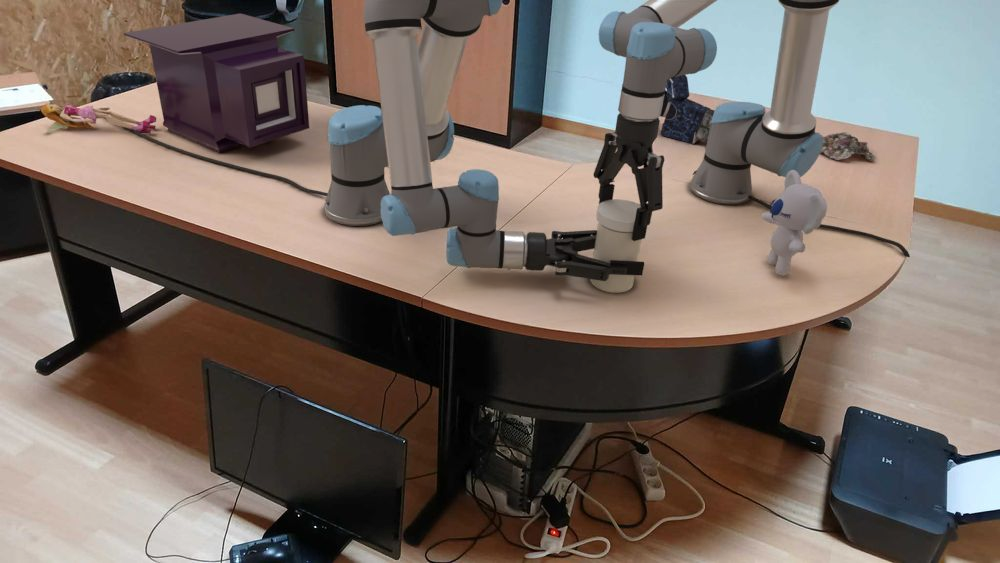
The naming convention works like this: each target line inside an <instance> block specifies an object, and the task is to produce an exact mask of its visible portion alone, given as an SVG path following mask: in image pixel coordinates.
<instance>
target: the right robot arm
mask: <svg viewBox="0 0 1000 563" xmlns="http://www.w3.org/2000/svg"><path fill="white" fill-rule="evenodd" d="M717 1H718V0H647V1H645V2H643V3H642V4H641V5H639V6H638V7H637V8H635V9H634V10H631V11H630V12H628V13H627V12H625V11H617V10H615V11H611V12H609V13H608V14H606V16H605V17H604V18H603V19H602V21H601V23H600V26H599V28H598V40H599V45H600V46H601V48H602V49H603V50H605V51H607V52H609V53H612V54H614V55H616V56H618V57H623V58H625V65H624V72H623V80H622V84H621V91H620V96H619V102H618V108H617V111H618V114H617V117H616V122H615V130H614V131H613V132H607V133H605V134H604V141H603V146H602V149H601V151H600V155H599V158H598V160H597V163H596V166H595V167H594V171H593V178H594V179H597V180H598V184H599V190H598V199H599V200H598V205H599V204H600V203H601V202H603V201H606V200H613V199H614V193H615V186H616V185H615V184H614V183H615V182H616V181H615V178H616V177H617V175H618V174H619V173H620V171H621V170H622V168H623V167H624V166H625V165H627V166H628V167H629V168H630V170H631V173H632V174H633V175H634V178H635V184H636V189H637V195H638V200H639V204H640V206H641V207H640V208H637V211H636V217H635V223H634V228H633V234H632V240H633V241H637V240H640V239H641V240H644V239H646V235H647V230H648V226H650V224H651V221H652V215H653V212H656V211H660V210H663V206H664V203H663V202H664V200H663V199H664V198H663V195H664V194H663V167H664V163H665V156H664V154H663V155H658V154H656V153H654V148H653V143H655V141H656V139H657V138H658V134H659V129H660V123H661V120H660V117H661V111H662V106H663V100H664V95H665V90H667V89H666V84H667V80H668V78H673V77H677V76H682V75H686V76H687V75H694V74H697V73H698V72H701V71H704V70H706V69H708V68H710V66H712V64H713V63H714V62H715V59H716V57H717V53H718V52H717V51H718V45H717V41H716V39H715V36H714V35H713V34H712V33H711V32H710V31H709V30H708V29H705V28H696V27H691V28H689V29H685V28H680V27H681V26H683V25H684V24H685V23H687V22H688V21H690V20H691V19H693V18H694V17H695V16H698V14H700V13H701V12H703V11H704V10H705V9H707V8H709V7H710V6H711V5H713V4H714V3H716V2H717ZM777 1H778V4H780V5H781V7H783V9H784V12H783V19H782V25H781V33H780V39H779V46H778V54H777V60H776V68H775V75H774V80H773V90H772V96H771V102H770V109H769V111H766V107H765V106H764V105H762V104H760V103H755V102H748V101H728V102H724V103H721V104H719V105H718V106H716V107H715V109H714V114H713V118H712V120H711V126H710V131H709V136H708V140H707V142H706V145H705V150H704V154H703V159H702V161H701V163H700V165H699V166H698V168H697V169H696V170H694V172H693V173H692V179H691V181H690V184H689V189H690V191H691V193H693V194H694V196H696V197H698V198H700V199H702V200H704V201H707V202H710V203H713V204H717V205H726V206H727V205H729V206H734V205H742V204H745V203H747V202H749V201H753V202H755V203H757V204H759V205H761V206H764V207H766V208H767V209H769V210H771V207H772V205H771V204H770V203H767V202H766V201H763V200H761V199H759V198H757V197H755V196H753V195H752V191H753V186H752V174H751V167H752V166H754V167H757V168H760V169H762V170H765V171H767V172H769V173H772V174H776V175H777V176H778V177H783V178H786V175H787V173H788V172H789V171H791V170H795V171H797V172H798V174H799V175H800V178H802V177H803V176H805V174H807V173H808V172H809V171H810V170H811V168H812V167H813V166H814V164H815V163H816V161H817V160H818V158H819V156H820V154H821V153H822V152H821V150H822V147H823V143H824V138H823V137H824V136H823V135H822V134H821V133H820V132H817V131H816V127H817V119H816V117H815V116H814V115H813V114H812V109H813V102H814V98H815V93H816V87H817V81H818V75H819V70H820V64H821V58H822V53H823V48H824V43H825V37H826V32H827V25H828V20H829V14H830V10H831V9H832V8H834V7H835V6H836V5H838V4H839V3H840V0H777ZM642 166H643V167H642ZM640 167H642V168H640ZM818 228H820V229H827V230H832V231H837V232H841V233H847V234H852V235H856V236H861V237H866V238H870V239H872V240H876V241H879V242H882V243H884V244H889V245H892V246H895V247H897V249H899V250H900V251H901V252H902V253H903V255H904V257H907V258H910V257H911V256H910V253H909V251H908V250H907V249H906V248H905V246H904V245H903V244H901V243H899V242H897V241H895V240H892V239H889V238H884V237H882V236H878V235H875V234H872V233H870V232H869V233H868V232H865V231H861V230H855V229H850V228H844V227H839V226H834V225H828V224H822V223H821V224H820V226H819V227H818Z"/></svg>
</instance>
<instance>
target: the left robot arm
mask: <svg viewBox="0 0 1000 563" xmlns="http://www.w3.org/2000/svg"><path fill="white" fill-rule="evenodd" d="M502 4H503V0H364V6H363V23H364V29H365V30H364V31H365V35H366V36H367V37H368V38H369V39H371V41H372V47H373V53H374V63H375V69H376V79H377V85H378V93H379V101H380V102H379V103H380V107H379V106H375V105H370V104H369V105H365V104H359V105H352V106H348V107H345V108H342V109H339V110H337V111H336V112H335V113H334V114H333V115H332V116H331V117H330V118H329V121H328V130H327V134H328V135H327V141H328V146H329V147H328V148H329V164H330V176H331V181H330V185H329V187H328V190H327V191H328V192H325V191H320V190H315V189H311V188H307V187H304V186H302V185H300V184H299V183H297V182H295V181H293V180H291V179H289V178H287V177H283V176H280V175H277V174H272V173H268V172H264V171H260V170H255V169H252V168H248V167H244V166H240V165H236V164H232V163H228V162H225V161H222V160H218V159H215V158H211V157H207V156H203V155H200V154H198V153H197V154H196V153H193V152H190V151H187V150H184V149H182V148H179V147H176V146H173V145H170V144H168V143H165V142H163V141H160V140H158V139H155V138H153V137H150V136H148V135H147V134H145V133H140V132H138V131H136V130H134V129H130V128H126V127H122V126H120V127H122V128H124V129H126V130H128V131H129V132H131V133H134V134H135V135H137V136H140V137H141V138H144V139H146V140H148V141H151V142H153V143H155V144H157V145H160V146H163V147H165V148H168V149H170V150H173V151H176V152H178V153H181V154H184V155H187V156H190V157H194V158H197V159H200V160H203V161H207V162H211V163H214V164H218V165H221V166H225V167H229V168H233V169H236V170H240V171H244V172H247V173H250V174H251V173H252V174H256V175H260V176H263V177H267V178H272V179H277V180H280V181H282V182H285V183H288V184H290V185H292V186H294V187H295V188H297V189H299V190H301V191H303V192H305V193H310V194H315V195H320V196H324V197H326V198H325V203H324V212H325V215H326V217H327V218H328V219H329V220H330V221H332V222H334V223H337V224H339V225H343V226H349V227H350V226H351V227H367V226H372V225H377V224H380V223H382V225H383V228H384V230H385V231H386V232H387V234H389V235H391V236H393V237H394V236H404V235H413V236H414V235H416V234H420V233H427V232H431V231H436V230H442V229H448V228H449V229H448V230H447V232H446V234H447V235H446V250H445V252H446V253H445V256H446V257H445V259H446V263H447V265H449V266H451V267H460V268H467V269H473V268H477V269H501V270H502V269H505V270H508V271H511V270H519V271H521V270H523V268H525V270H527V271H535V272H537V271H538V272H541V271H544V270H545V269H546V266H550V267H552V268H553V267H554V269H555V271H554V274H555V275H556V276H560V277H561V276H564V277H565V276H570V277H574V278H575V277H576V278H581V279H587V280H590V279H593V280H600V281H607V279H608V278H609V275H610V274H614V275H635V276H637V277H638V276H639V277H642V276H643V274H644V269H645V261H619V260H610V263H608V262H604V261H601V260H597V259H594V258H593V257H589V256H587V255H583V254H580V253H579V252H585V251H589V250H594V247H595V241H596V234H597V229H591V230H574V231H573V230H572V231H571V230H570V231H558V230H552V231H551V236H550V238H547V235H546V233H545V232H537V231H535V232H534V231H529V232H527V233H526V234H525V231H521V230H520V231H519V230H516V231H515V230H497V218H498V207H499V201H500V195H499V194H500V193H499V192H500V185H499V179H498V177H497V176H496V175H495V173H492V172H491V171H488V170H486V169H479V168H475V169H474V168H473V169H468V170H466V171H463V172H461V173H460V175H459V177H458V181H457V185H451V186H443V187H436V188H434V186H433V175H432V174H433V173H432V165H431V163H433V162H435V161H440V160H443V159H445V158H446V157H448V155H449V154H450V152H451V151H452V149H453V145H454V141H455V137H454V135H455V125H454V120H453V116H452V115H451V113H450V112H449V110H448V108H447V105H448V102H449V99H450V96H451V93H452V89H453V87H454V83H455V81H456V77H457V73H458V70H459V67H460V65H461V61H462V58H463V56H464V52H465V48H466V46H467V42H468V39H469V37H472V36H473V35H475V34H476V33H477V32H478V31H479V30H480V27H481V25H482V22H483V18H484V17H485V16H487V17H492V16H493V15H497V14H499V12H500V10H501V8H502ZM422 21H423V27H422ZM420 33H421V35H420ZM419 35H420V39H419V42H418V36H419ZM385 168H388V173H389V183H390V190H391V193H390V191H389V188H388V185H387V182H386V179H385V177H386V176H385Z"/></svg>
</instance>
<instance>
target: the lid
mask: <svg viewBox="0 0 1000 563" xmlns="http://www.w3.org/2000/svg"><path fill="white" fill-rule="evenodd" d="M640 207H641V206H640V203H638V202H635V201H632V200H628V199H620V198H619V199H616V198H615V199H614V198H613V200H606V201H603V202H601V203H600V204H599V203H598V205H597V206H596V215H595V219H596V221H597V223H598V222H599V223H600V224H601V225H603V226H605V227H607V228H609V229H612V230H616V231H622V232H633V228H634V223H635V217H636V211H637V208H640Z"/></svg>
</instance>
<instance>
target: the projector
mask: <svg viewBox="0 0 1000 563" xmlns="http://www.w3.org/2000/svg"><path fill="white" fill-rule="evenodd" d="M294 31H295V28H294V27H292V26H287V25H283V24H279V23H276V22H272V21H269V20H264V19H262V18H259V17H256V16H255V17H254V16H252V15H247V14H244V13H235V14H230V15H224V16H217V17H212V18H205V19H200V20H194V21H188V22H181V23H175V24H169V25H163V26H157V27H151V28H146V29H145V28H144V29H139V30H134V31H128V32H123V36H125V37H127V38H130V39H133V40H136V41H138V42H142V43H145V44H148V45H149V50H150V54H151V60H152V66H153V71H154V75H155V76H154V77H155V82H156V87H157V92H158V97H159V102H160V107H161V113H162V118H163V122H162V126H163V127H165V128H166V129H167V131H168V132H170V133H172V134H175V135H177V136H179V137H182V138H184V139H187V140H189V141H191V142H193V143H196V144H197V145H200V146H203V147H205V148H207V149H209V150H212V151H215V152H217V153H219V154H220V153H224V152H227V151H229V150H233V149H235V148H237V144H240V145H242V146H245V147H247V148H249V149H250V148H253V147H256V146H259V145H262V144H266V143H269V142H271V141H275V140H278V139H281V138H285V137H287V136H289V135H293V134H296V133H300V132H302V131H305V130H308V129H310V118H309V105H308V94H307V93H308V92H307V80H306V79H307V78H306V68H305V56H304V54H303V53H302V54H301V53H297V52H296V51H295V52H294V51H291V50H288V49H285V48H282V47H279V44H278V40H277V38H280V37H282V36H286V35H287V34H291V33H292V32H294Z"/></svg>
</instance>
